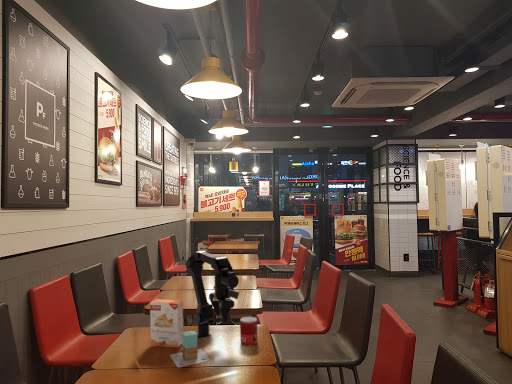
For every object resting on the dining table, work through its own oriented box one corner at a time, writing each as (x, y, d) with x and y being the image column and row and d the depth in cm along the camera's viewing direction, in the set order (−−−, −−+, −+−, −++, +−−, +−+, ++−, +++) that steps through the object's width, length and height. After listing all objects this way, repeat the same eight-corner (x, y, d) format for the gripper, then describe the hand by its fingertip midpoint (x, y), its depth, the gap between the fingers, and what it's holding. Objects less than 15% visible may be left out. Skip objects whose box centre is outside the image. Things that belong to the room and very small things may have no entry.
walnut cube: (182, 356, 154) (182, 344, 154) (193, 354, 156) (193, 342, 156) (185, 360, 150) (185, 348, 150) (197, 358, 152) (197, 346, 152)
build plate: (169, 357, 156) (169, 354, 156) (200, 350, 162) (200, 347, 162) (177, 370, 143) (177, 366, 144) (211, 362, 150) (211, 359, 150)
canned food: (257, 345, 167) (256, 321, 167) (240, 345, 167) (239, 321, 168) (257, 339, 175) (257, 316, 175) (241, 339, 175) (240, 316, 175)
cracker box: (150, 347, 167) (149, 301, 168) (156, 342, 173) (156, 298, 174) (178, 350, 164) (177, 303, 165) (183, 345, 170) (183, 299, 171)
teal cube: (182, 344, 154) (182, 332, 154) (193, 342, 156) (193, 330, 157) (185, 348, 150) (185, 336, 150) (197, 346, 152) (197, 334, 152)
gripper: (244, 286, 164) (245, 321, 163) (229, 279, 181) (230, 310, 180) (221, 289, 159) (222, 325, 158) (208, 281, 176) (208, 314, 175)
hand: (221, 318), depth 168 cm, fingers open, 9 cm apart
